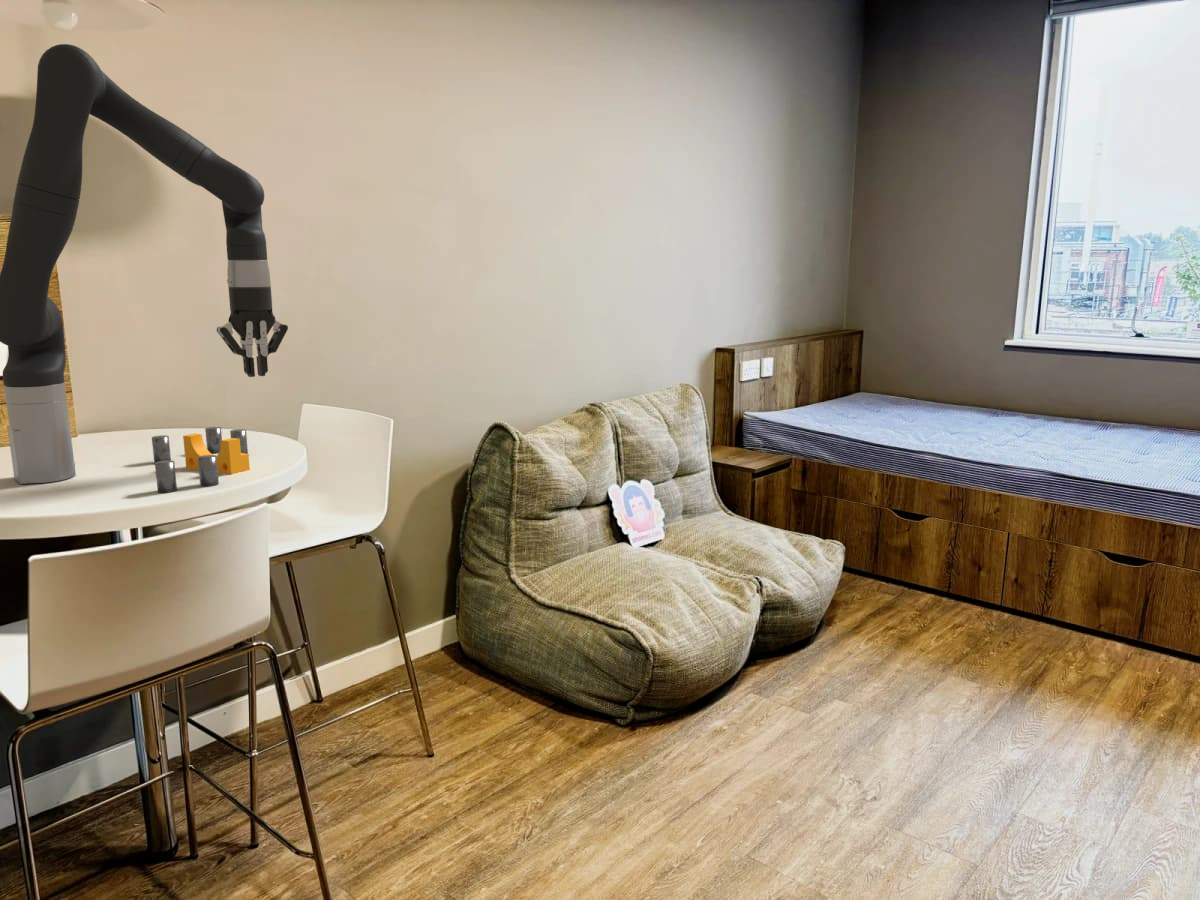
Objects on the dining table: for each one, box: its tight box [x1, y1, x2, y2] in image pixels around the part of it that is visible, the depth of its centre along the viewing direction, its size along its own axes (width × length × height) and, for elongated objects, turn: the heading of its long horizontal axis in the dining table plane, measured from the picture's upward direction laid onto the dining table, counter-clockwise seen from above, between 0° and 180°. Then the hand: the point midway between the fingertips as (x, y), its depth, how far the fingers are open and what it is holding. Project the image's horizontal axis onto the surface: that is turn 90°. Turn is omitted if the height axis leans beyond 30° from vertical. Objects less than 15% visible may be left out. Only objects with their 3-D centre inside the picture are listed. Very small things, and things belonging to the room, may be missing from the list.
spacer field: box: [151, 426, 249, 494], centre depth 171 cm, size 23×31×5 cm
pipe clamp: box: [182, 433, 251, 475], centre depth 171 cm, size 12×4×6 cm, turn 64°
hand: (256, 375), depth 174 cm, fingers closed
